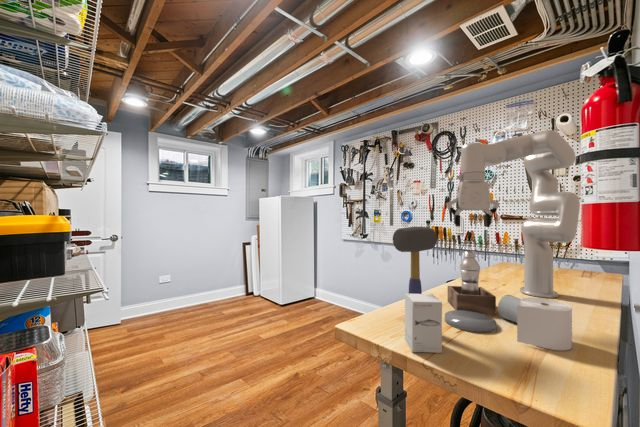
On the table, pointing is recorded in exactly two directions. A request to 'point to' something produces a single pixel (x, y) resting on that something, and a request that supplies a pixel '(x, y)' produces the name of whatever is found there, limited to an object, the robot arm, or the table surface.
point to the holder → (472, 300)
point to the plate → (470, 321)
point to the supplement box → (423, 323)
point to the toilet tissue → (544, 323)
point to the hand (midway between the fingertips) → (472, 226)
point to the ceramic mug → (508, 307)
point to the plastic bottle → (470, 274)
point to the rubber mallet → (414, 250)
